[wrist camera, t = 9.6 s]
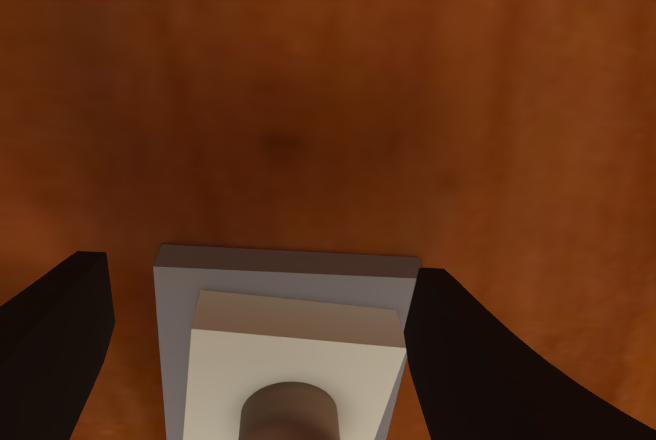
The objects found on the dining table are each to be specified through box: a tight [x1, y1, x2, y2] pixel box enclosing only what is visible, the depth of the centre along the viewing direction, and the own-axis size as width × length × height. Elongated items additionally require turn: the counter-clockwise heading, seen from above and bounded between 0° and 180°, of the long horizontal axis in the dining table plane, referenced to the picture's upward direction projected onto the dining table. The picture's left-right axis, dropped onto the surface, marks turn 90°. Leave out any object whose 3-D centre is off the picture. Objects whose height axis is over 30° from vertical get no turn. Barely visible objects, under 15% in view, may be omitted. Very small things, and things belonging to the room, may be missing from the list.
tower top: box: [183, 290, 406, 440], centre depth 24 cm, size 9×9×2 cm
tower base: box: [153, 244, 422, 440], centre depth 26 cm, size 12×12×2 cm
